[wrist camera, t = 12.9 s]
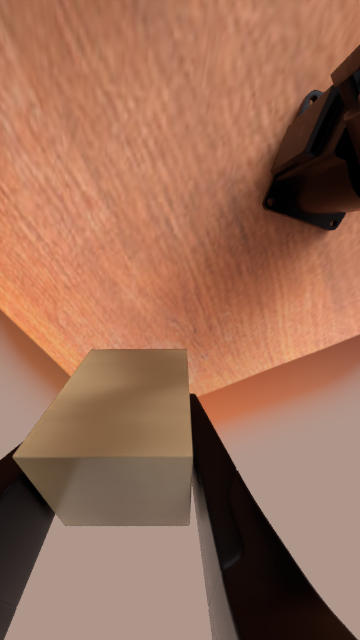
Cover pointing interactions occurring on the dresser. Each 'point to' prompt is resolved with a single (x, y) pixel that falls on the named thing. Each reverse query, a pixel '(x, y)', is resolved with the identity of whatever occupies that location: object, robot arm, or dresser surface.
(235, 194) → the dresser surface
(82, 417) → the block
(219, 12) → the dresser surface
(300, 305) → the dresser surface
